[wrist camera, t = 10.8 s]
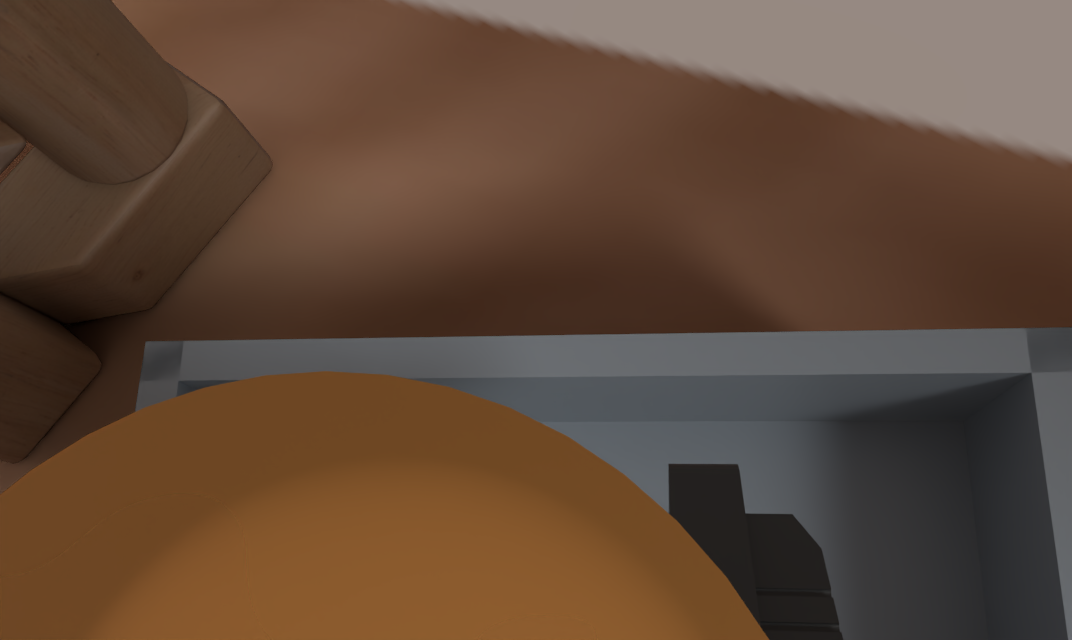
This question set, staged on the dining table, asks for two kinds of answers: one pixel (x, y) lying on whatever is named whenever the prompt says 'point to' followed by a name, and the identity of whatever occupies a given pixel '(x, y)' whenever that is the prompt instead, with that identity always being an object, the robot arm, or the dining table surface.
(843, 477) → the grey tray with sleeve
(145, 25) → the dining table surface
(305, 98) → the dining table surface
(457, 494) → the pin
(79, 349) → the brown wooden stand
